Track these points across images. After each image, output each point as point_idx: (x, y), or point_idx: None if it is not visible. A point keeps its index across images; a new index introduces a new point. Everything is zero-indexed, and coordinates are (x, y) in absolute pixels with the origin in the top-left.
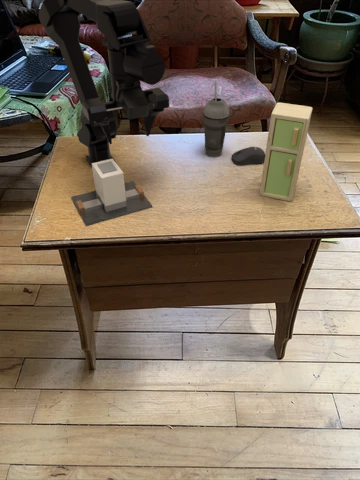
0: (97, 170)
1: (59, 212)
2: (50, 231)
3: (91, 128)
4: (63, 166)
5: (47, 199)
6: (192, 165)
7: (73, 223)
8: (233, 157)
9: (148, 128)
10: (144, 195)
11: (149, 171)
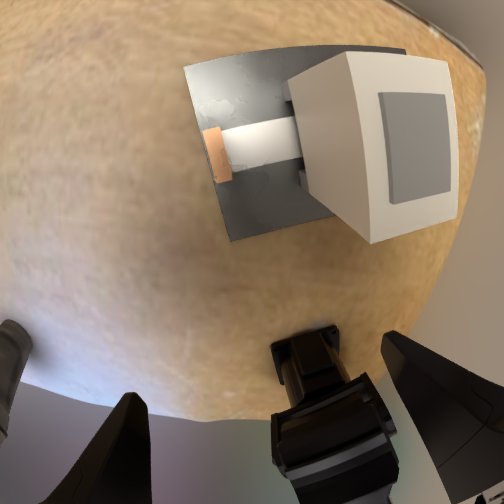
0: (454, 141)
1: None
2: (462, 77)
3: (384, 426)
4: None
5: None
6: (47, 298)
7: None
8: None
9: (113, 436)
10: (201, 136)
11: (167, 293)
